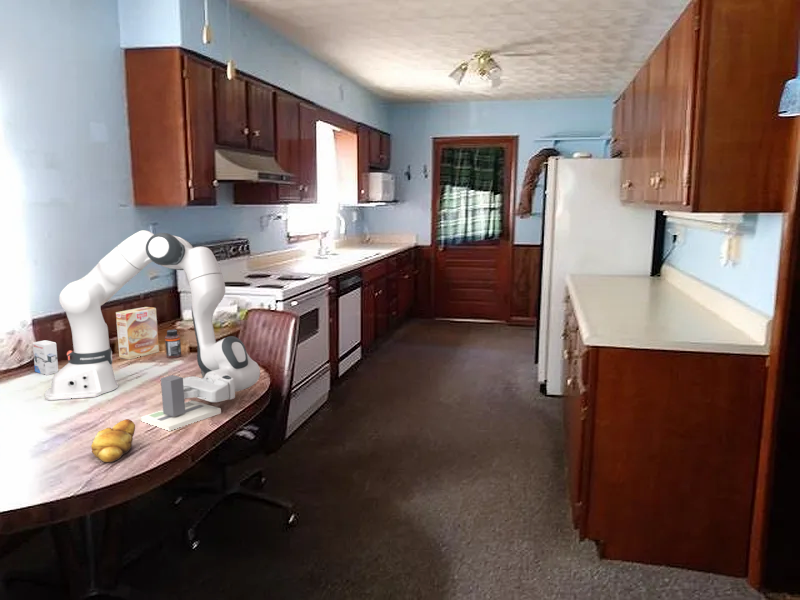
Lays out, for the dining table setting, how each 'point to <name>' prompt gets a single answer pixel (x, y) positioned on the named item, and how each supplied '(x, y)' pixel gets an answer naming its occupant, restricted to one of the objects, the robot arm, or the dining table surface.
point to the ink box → (45, 357)
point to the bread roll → (113, 441)
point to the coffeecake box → (137, 332)
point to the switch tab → (173, 395)
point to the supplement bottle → (172, 344)
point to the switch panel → (181, 416)
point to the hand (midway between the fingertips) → (178, 395)
